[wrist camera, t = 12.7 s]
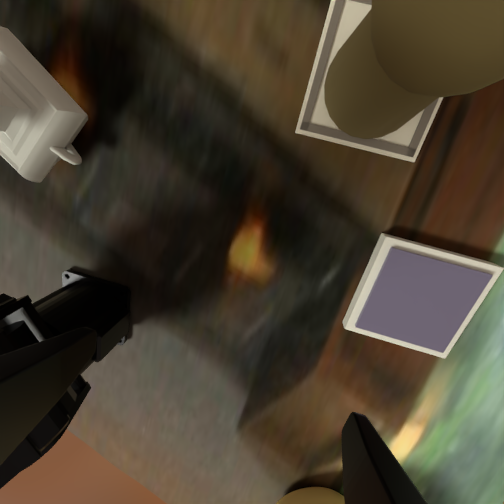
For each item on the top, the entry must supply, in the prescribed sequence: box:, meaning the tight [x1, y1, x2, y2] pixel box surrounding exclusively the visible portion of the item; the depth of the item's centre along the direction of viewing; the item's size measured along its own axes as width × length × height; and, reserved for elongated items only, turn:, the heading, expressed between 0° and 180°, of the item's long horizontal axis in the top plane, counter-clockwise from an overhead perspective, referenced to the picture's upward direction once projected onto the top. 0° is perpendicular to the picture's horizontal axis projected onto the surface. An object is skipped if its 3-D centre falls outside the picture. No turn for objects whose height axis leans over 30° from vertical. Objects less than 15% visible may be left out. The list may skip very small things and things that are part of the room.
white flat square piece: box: [295, 0, 443, 162], centre depth 16 cm, size 8×8×1 cm
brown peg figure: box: [324, 0, 504, 139], centre depth 11 cm, size 6×6×11 cm
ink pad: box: [343, 233, 504, 358], centre depth 20 cm, size 8×8×1 cm
